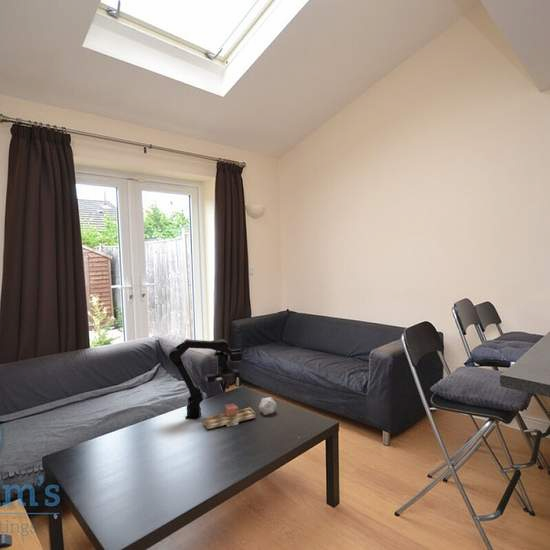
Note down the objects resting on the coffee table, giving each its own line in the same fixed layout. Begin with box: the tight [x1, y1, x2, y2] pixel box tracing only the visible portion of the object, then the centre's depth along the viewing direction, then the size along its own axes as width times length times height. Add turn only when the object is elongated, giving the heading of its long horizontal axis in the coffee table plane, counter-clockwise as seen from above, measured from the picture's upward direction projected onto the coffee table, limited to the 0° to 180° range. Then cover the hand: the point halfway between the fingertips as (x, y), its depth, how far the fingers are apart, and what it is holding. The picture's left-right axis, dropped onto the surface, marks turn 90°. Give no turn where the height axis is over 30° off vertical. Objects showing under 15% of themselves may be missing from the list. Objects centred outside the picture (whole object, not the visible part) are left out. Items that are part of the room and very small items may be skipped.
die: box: [258, 396, 277, 416], centre depth 196 cm, size 8×9×10 cm
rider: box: [224, 403, 239, 417], centre depth 187 cm, size 5×6×5 cm
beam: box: [202, 406, 256, 430], centre depth 187 cm, size 26×10×4 cm, turn 117°
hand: (223, 391), depth 197 cm, fingers closed
